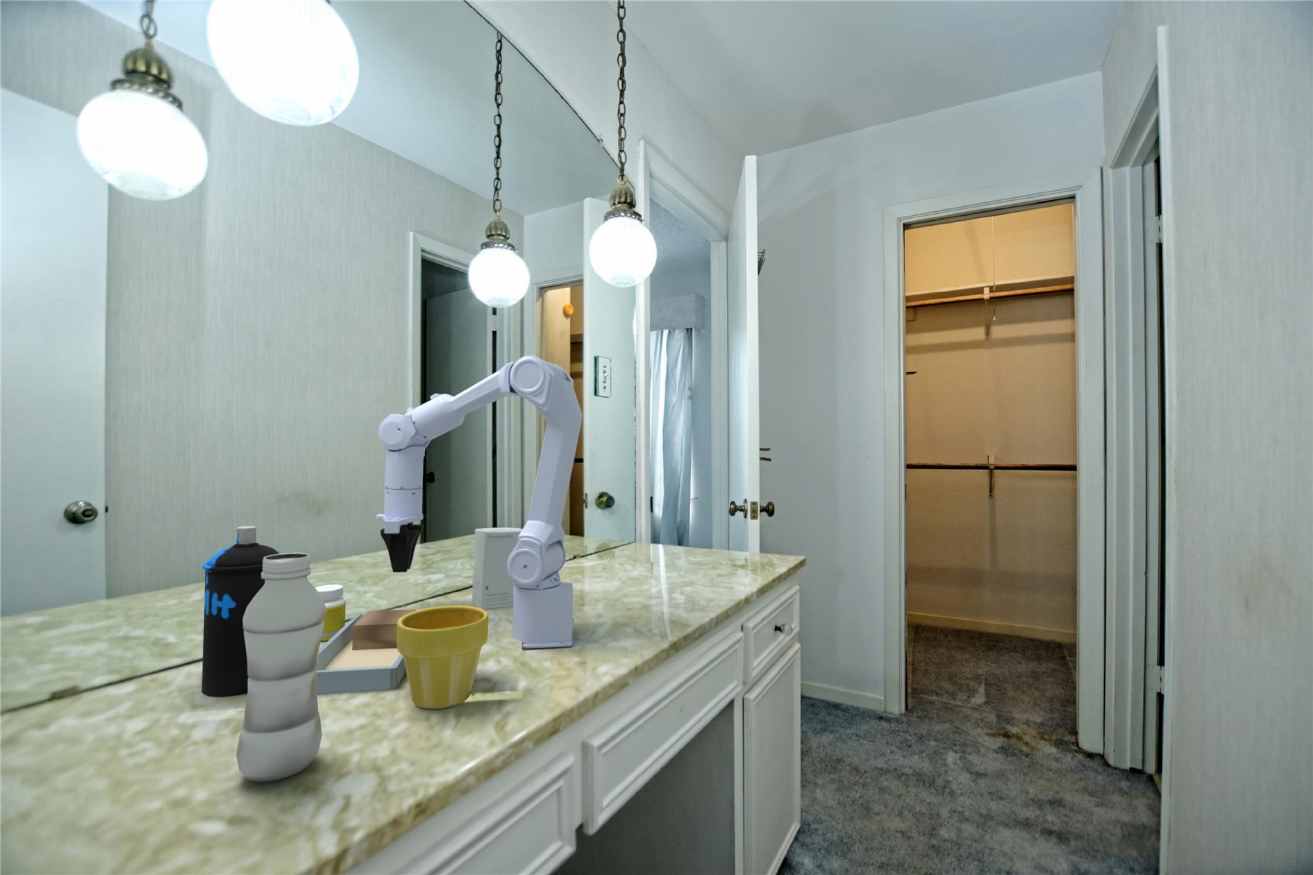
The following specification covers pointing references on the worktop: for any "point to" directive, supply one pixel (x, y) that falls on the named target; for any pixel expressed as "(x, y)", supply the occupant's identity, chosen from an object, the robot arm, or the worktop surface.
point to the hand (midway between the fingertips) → (401, 570)
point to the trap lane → (356, 665)
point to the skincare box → (493, 567)
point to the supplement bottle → (332, 610)
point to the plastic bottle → (282, 671)
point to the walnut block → (377, 629)
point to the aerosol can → (230, 612)
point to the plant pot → (441, 652)
